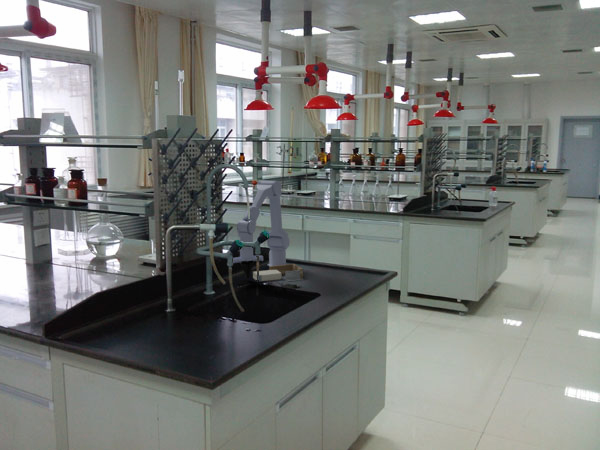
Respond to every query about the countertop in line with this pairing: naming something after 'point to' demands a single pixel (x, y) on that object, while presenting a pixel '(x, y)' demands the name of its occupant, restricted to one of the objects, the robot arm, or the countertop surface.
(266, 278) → the cream rectangular block
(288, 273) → the bookend
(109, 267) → the countertop surface
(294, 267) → the brown wooden tray
